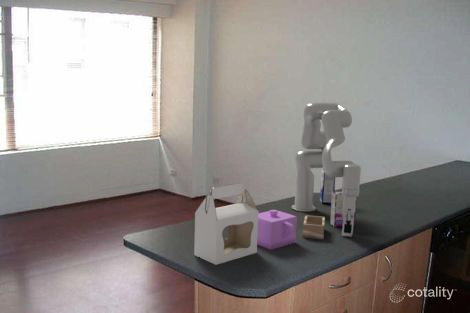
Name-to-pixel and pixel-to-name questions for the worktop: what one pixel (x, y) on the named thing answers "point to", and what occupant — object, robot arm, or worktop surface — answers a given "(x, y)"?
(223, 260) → the gable box
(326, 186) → the milk carton
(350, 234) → the brushed metal block
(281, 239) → the teapot
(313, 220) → the open wooden box
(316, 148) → the robot arm
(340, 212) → the candy bar box
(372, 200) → the worktop surface
